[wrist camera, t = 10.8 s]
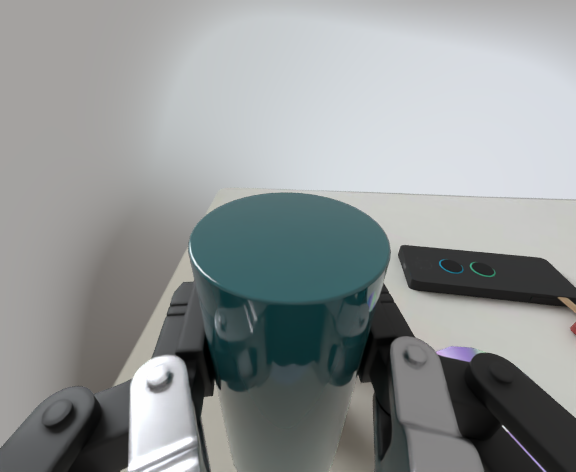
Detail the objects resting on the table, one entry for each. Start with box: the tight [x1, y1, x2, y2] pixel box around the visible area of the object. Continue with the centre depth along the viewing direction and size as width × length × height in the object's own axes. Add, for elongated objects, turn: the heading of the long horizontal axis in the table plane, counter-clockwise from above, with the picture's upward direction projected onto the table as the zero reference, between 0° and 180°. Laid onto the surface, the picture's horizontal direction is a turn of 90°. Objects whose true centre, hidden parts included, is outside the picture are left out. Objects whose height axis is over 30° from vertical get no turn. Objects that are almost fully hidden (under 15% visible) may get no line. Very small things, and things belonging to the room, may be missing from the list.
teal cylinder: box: [188, 193, 391, 472], centre depth 9 cm, size 5×5×10 cm
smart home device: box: [398, 245, 576, 307], centre depth 37 cm, size 8×2×20 cm
